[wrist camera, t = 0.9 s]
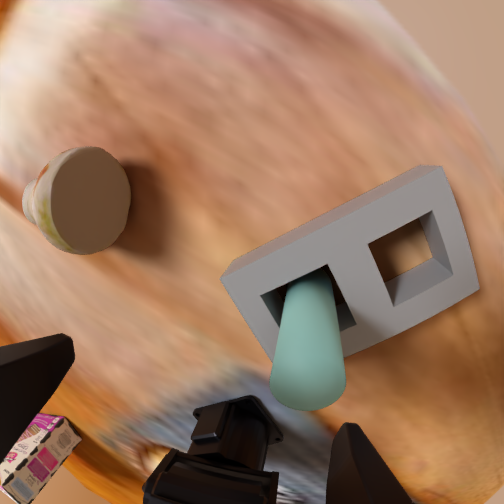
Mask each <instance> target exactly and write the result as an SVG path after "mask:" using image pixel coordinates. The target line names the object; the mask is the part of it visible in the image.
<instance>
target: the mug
mask: <svg viewBox="0 0 504 504" xmlns="http://www.w3.org/2000/svg"><path fill="white" fill-rule="evenodd" d="M130 202H131V190H130V185H129V182H128V178H127V175H126V174H125V171H124V170H123V167H122V166H121V165H120V163H119V162H118V161H117V160H116V159H115V158H114V157H113V156H112V155H111V154H109V153H108V152H106V151H105V150H104V149H102V148H99V147H78V148H73V149H70V150H67V151H65V152H62V153H61V154H59V155H57V156H56V157H55V158H54V159H52V160H51V161H50V162H49V163H48V164H47V165H46V166H45V167H44V169H43V170H42V171H41V173H40V175H39V177H38V178H36V179H34V180H33V181H31V182H30V183H29V184H28V185H27V187H26V188H25V191H24V194H23V199H22V204H23V211H24V214H25V216H26V217H27V219H28V220H29V221H30V222H32V223H33V224H35V225H37V226H38V228H39V229H40V231H41V233H42V234H43V235H44V237H45V238H46V239H47V240H48V241H49V242H50V243H51V244H52V245H54V246H55V247H57V248H58V249H60V250H62V251H65V252H68V253H72V254H78V255H85V254H93V253H96V252H99V251H102V250H104V249H106V248H107V247H109V246H110V245H111V244H113V243H114V242H115V240H116V239H117V237H118V236H119V235H120V234H121V232H122V231H123V230H124V228H125V226H126V221H127V217H128V211H129V207H130Z"/></svg>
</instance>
